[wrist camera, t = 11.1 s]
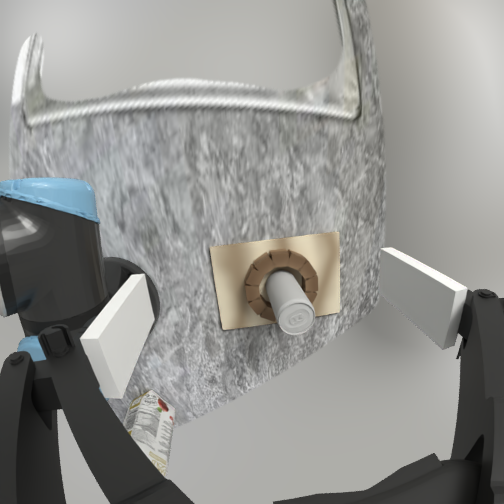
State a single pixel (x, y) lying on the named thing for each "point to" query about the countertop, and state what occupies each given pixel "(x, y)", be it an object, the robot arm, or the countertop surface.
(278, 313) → the beverage can
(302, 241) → the collar board
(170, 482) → the robot arm
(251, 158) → the countertop surface
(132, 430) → the juice carton
